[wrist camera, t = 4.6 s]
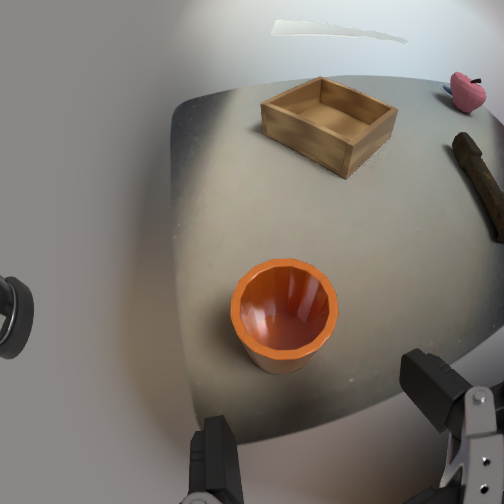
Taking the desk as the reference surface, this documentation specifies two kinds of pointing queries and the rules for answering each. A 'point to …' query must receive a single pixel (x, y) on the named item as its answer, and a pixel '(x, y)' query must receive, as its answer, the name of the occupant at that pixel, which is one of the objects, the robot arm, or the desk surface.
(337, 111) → the wooden tray
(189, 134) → the desk surface
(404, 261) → the desk surface
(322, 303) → the orange cup
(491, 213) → the dark brown long bar
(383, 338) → the desk surface
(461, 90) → the apple
